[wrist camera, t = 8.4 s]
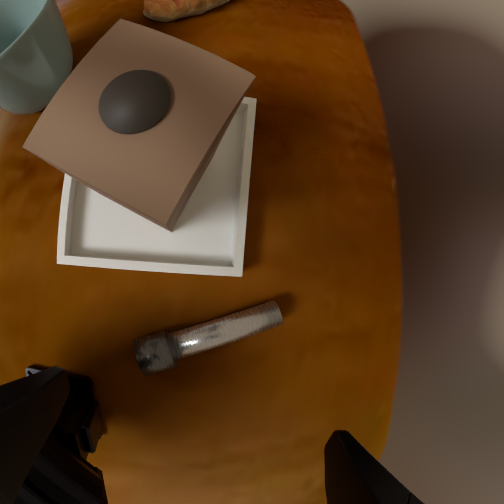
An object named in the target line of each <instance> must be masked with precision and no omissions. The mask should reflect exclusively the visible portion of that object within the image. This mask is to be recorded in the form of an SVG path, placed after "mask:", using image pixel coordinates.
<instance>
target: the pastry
mask: <svg viewBox="0 0 504 504" xmlns="http://www.w3.org/2000/svg"><path fill="white" fill-rule="evenodd" d="M228 1H230V0H145V1H144V10H143V14H144V15H145V16H146V17H148V18H149V19H152V20H156V21H162V22H169V21H174V20H176V19H179V18H182V17H188V16H194V15H200V14H203V13H204V12H205V11H208V10H211V9H213V8H215V7H218V6H220V5H222V4H224V3H226V2H228Z"/></svg>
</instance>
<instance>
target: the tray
mask: <svg viewBox="0 0 504 504" xmlns="http://www.w3.org/2000/svg"><path fill="white" fill-rule="evenodd" d="M256 101H257V99H255V98H249V97H244V98H243V100H242V102H241V104H240V106H239V108H238V109H237V111H236V113H235V115H234V117H233V119H232V121H231V123H230V125H229V126H228V128H227V130H226V132H225V134H224V136H223V138H222V140H221V142H220V144H219V146H218V148H217V150H216V152H215V154H214V156H213V158H212V160H211V162H210V163H209V165H208V167H207V169H206V170H205V172H204V174H203V176H202V177H201V179H200V181H199V183H198V184H197V186H196V188H195V190H194V192H193V193H192V195H191V197H190V199H189V201H188V203H187V204H186V206H185V208H184V210H183V212H182V214H181V216H180V217H179V219H178V221H177V223H176V225H175V227H174V229H173V231H172V232H170V231H168V230H166V229H164V228H162V227H160V226H159V225H157V224H155V223H153V222H151V221H149V220H147V219H145V218H143V217H142V216H140V215H138V214H136V213H134V212H132V211H130V210H129V209H127V208H125V207H123V206H121V205H119V204H117V203H115V202H114V201H112V200H110V199H108V198H106V197H104V196H103V195H101V194H99V193H97V192H96V191H94V190H92V189H91V188H89V187H87V186H86V185H84V184H82V183H81V182H79V181H77V180H76V179H74V178H72V177H71V176H69V175H67V174H66V173H65V177H64V184H63V191H62V199H61V207H60V217H59V229H58V246H57V264H67V265H78V266H90V267H102V268H114V269H127V270H141V271H155V272H170V273H185V274H202V275H220V276H239V277H242V272H243V259H244V246H245V233H246V220H247V208H248V195H249V183H250V171H251V159H252V147H253V135H254V124H255V112H256Z"/></svg>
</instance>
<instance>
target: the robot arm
mask: <svg viewBox="0 0 504 504" xmlns="http://www.w3.org/2000/svg"><path fill="white" fill-rule="evenodd" d="M30 371H31V372H32V374H31V373H30ZM25 373H26V377H23V378H20V379H18V380H15V381H12V382H9V383H6V384H3V385H0V504H108V500H107V496H106V491H105V485H104V480H103V474H102V471H101V470H100V469H98V468H97V467H94V466H93V465H91V464H90V463H89V462H87V461H86V459H87V456H88V453H94V452H95V450H96V447H97V443H98V440H99V439H100V438H101V436H102V432H101V429H102V426H103V423H102V418H101V413H100V407H99V403H98V402H97V400H95V395H94V389H93V382H92V380H91V379H90V378H89V377H86V376H80V375H73V374H67V372H66V370H64V369H62V368H60V367H58V366H54V367H51V368H48V369H41V368H36V367H32V366H29V367H27V368H26V370H25ZM84 381H86V382H88V384H86V383H85V382H84ZM324 455H325V490H326V497H327V504H424V503H423V502H422V501H420V500H419V499H418V498H417V497H416V496H415V495H414V494H412V493H411V492H410V491H409V490H408V489H407V488H406V487H405V486H404V485H403V484H402V483H400V482H399V481H398V480H397V479H396V478H395V477H394V476H393V475H392V474H391V473H390V472H389V471H387V469H386V468H385V467H383V466H382V465H381V464H380V463H379V462H378V461H377V460H376V459H375V458H374V457H373V456H372V455H371V454H370V453H369V452H368V451H367V450H366V449H365V448H364V447H363V446H362V445H361V444H360V443H359V442H358V441H357V440H356V439H355V438H354V437H353V436H352V435H351V434H350V433H349V432H348V431H346V430H335V431H334V432H333V434H332V435H331V437H330V438H329V440H328V442H327V443H326V445H325V449H324Z"/></svg>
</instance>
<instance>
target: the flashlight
mask: <svg viewBox="0 0 504 504" xmlns="http://www.w3.org/2000/svg"><path fill="white" fill-rule="evenodd" d="M282 324H283V319H282V315H281V311H280V309H279V307H278V305H277V303H276V302H275V301H274V300H272V301H269V302H266V303H263V304H260V305H257V306H255V307H252V308H249V309H246V310H243V311H240V312H236V313H233V314H230V315H227V316H224V317H221V318H218V319H215V320H212V321H208V322H205V323H202V324H199V325H195V326H192V327H189V328H186V329H182V330H179V331H175V332H172V333H169V334H168V333H167V332H166V331H162V332H159V333H155V334H152V335H148V336H144V337H141V338H137V339H134V342H133V345H134V352H135V356H136V359H137V362H138V364H139V366H140V369H141V370H142V372H143V373H144V375H146V376H148V375H152V374H155V373H159V372H163V371H166V370H170V369H174V368H177V367H178V362H177V359H180V358H184V357H187V356H190V355H194V354H197V353H200V352H204V351H207V350H210V349H213V348H216V347H219V346H223V345H226V344H229V343H232V342H235V341H238V340H241V339H243V338H246V337H249V336H252V335H255V334H258V333H261V332H263V331H266V330H269V329H272V328H275V327H277V326H280V325H282Z"/></svg>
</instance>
